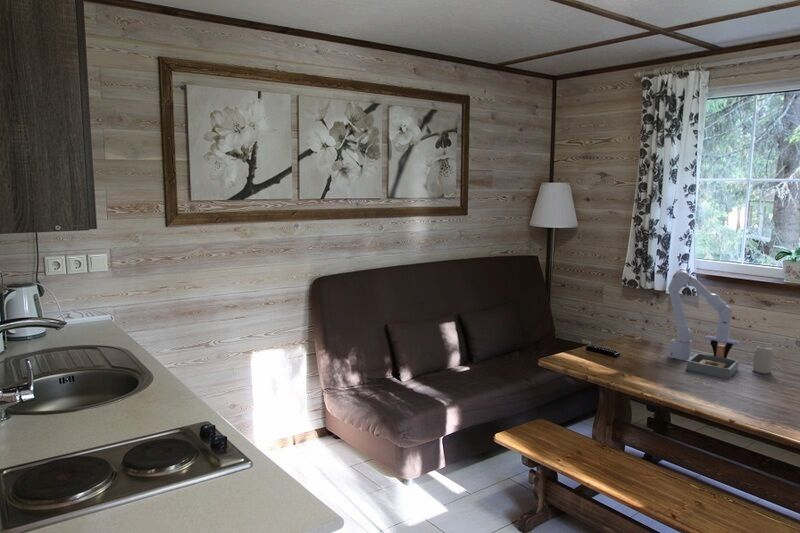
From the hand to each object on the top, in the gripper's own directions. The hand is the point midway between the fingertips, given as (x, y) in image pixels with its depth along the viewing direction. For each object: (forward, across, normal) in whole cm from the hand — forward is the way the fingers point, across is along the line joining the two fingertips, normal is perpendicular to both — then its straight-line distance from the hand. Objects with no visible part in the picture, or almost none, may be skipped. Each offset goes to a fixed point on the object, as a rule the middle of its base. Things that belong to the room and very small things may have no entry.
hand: (720, 357), depth 290 cm
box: (+3, 0, -15) cm, 15 cm away
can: (+3, +18, -1) cm, 18 cm away
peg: (+2, 0, 0) cm, 2 cm away
